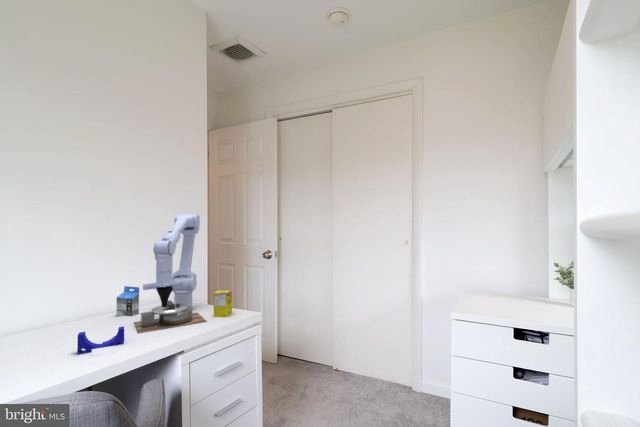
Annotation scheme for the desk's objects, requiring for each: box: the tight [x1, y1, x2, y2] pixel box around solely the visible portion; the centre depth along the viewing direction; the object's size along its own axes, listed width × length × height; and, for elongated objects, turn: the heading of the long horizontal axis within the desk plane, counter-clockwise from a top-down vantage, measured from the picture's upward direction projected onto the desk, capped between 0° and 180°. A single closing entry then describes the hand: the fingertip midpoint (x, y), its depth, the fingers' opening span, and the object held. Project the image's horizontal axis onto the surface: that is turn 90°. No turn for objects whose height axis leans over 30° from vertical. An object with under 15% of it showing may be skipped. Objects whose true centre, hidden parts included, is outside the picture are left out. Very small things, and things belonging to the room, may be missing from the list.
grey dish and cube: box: [140, 306, 193, 328], centre depth 127 cm, size 12×18×4 cm, turn 124°
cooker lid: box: [151, 300, 187, 315], centre depth 128 cm, size 13×13×3 cm
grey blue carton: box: [116, 285, 140, 318], centre depth 140 cm, size 9×4×12 cm, turn 71°
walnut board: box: [133, 312, 208, 335], centre depth 128 cm, size 16×24×1 cm, turn 124°
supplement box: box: [213, 289, 233, 318], centre depth 138 cm, size 6×6×11 cm
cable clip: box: [76, 325, 125, 356], centre depth 104 cm, size 12×4×6 cm, turn 119°
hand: (164, 306), depth 127 cm, fingers closed
